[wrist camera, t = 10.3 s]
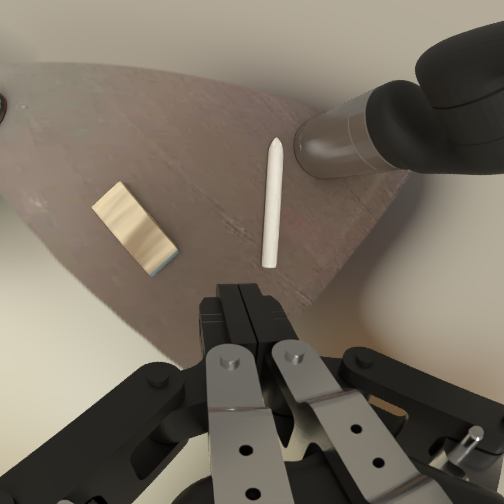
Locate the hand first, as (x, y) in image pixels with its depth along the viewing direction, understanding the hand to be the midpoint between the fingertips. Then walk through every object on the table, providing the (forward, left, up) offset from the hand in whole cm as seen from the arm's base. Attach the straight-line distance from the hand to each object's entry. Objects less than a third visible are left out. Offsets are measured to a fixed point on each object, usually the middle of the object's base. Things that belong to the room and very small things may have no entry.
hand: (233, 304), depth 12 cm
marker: (-11, -7, -31) cm, 33 cm away
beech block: (+2, +4, -28) cm, 28 cm away
